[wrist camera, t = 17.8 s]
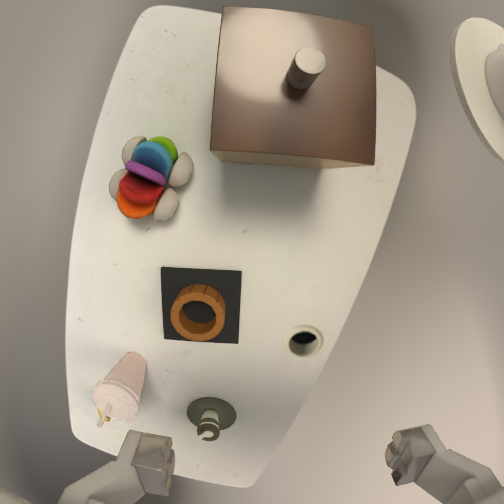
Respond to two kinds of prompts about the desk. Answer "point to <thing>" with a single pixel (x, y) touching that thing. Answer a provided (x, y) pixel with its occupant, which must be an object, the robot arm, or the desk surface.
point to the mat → (199, 310)
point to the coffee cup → (211, 417)
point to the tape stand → (294, 90)
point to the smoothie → (121, 389)
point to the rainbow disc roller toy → (150, 178)
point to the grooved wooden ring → (189, 327)
